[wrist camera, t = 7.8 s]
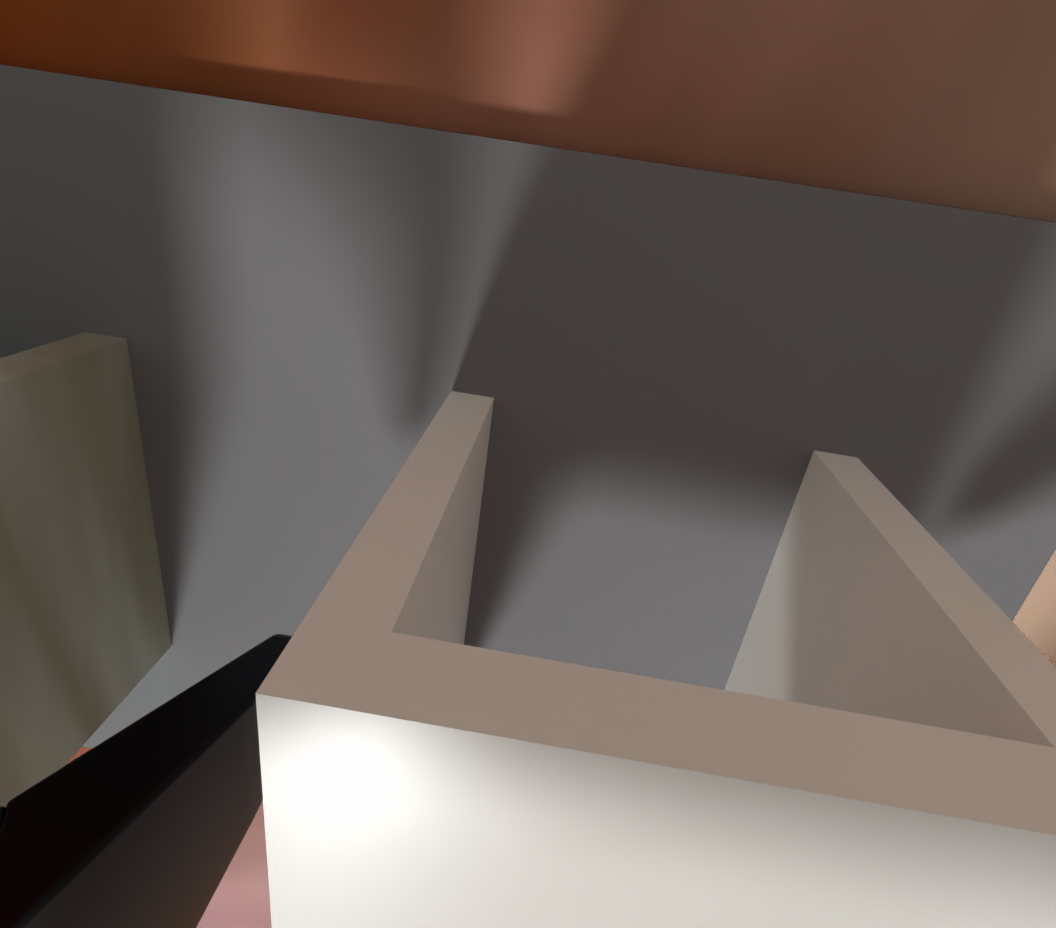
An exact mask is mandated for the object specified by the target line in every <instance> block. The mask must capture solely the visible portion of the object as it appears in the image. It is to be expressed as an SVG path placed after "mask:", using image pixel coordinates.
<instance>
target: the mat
mask: <svg viewBox="0 0 1056 928" xmlns="http://www.w3.org/2000/svg"><path fill="white" fill-rule="evenodd" d="M84 332H89V333H95V334H101V335H107V336H114V337H120V338H126V339H127V345H128V352H129V358H130V365H131V372H132V379H133V385H134V392H135V399H136V406H137V413H138V419H139V426H140V433H141V440H142V446H143V453H144V460H145V467H146V473H147V480H148V487H149V494H150V501H151V507H152V514H153V521H154V528H155V534H156V541H157V548H158V555H159V562H160V568H161V575H162V582H163V589H164V595H165V602H166V609H167V616H168V623H169V629H170V636H171V643H172V646H171V647H170V648H169V649H168V651H167V652H166V653H165V654H164V655H163V656H162V657H161V658H160V660H159V661H158V662H157V663H156V664H155V665H154V666H153V667H152V669H151V670H150V671H149V672H148V673H147V674H146V675H145V676H144V678H143V679H142V680H141V681H140V682H139V683H138V684H137V685H136V686H135V688H134V689H133V690H132V691H131V692H130V693H129V694H128V695H127V697H126V698H125V699H124V700H123V701H122V702H121V703H120V704H119V706H118V707H117V708H116V709H115V710H114V711H113V712H112V713H111V715H110V716H109V717H108V718H107V719H106V720H105V721H104V722H103V723H102V725H101V726H100V727H99V728H98V729H97V730H96V731H95V732H94V734H93V735H92V736H91V737H90V738H89V739H88V740H87V741H86V743H85V744H84V745H83V747H88V748H94V747H96V746H97V745H99V744H100V743H102V742H103V741H105V740H107V739H108V738H110V737H111V736H113V735H115V734H116V733H118V732H119V731H121V730H123V729H124V728H126V727H127V726H129V725H131V724H132V723H134V722H135V721H137V720H139V719H140V718H142V717H143V716H145V715H147V714H148V713H150V712H151V711H153V710H154V709H156V708H158V707H159V706H161V705H162V704H164V703H166V702H167V701H169V700H170V699H172V698H174V697H175V696H177V695H178V694H180V693H182V692H183V691H185V690H186V689H188V688H190V687H191V686H193V685H194V684H196V683H197V682H199V681H201V680H202V679H204V678H205V677H207V676H209V675H210V674H212V673H213V672H215V671H217V670H218V669H220V668H221V667H223V666H225V665H226V664H228V663H229V662H231V661H233V660H234V659H236V658H237V657H239V656H240V655H242V654H244V653H245V652H247V651H248V650H250V649H252V648H253V647H255V646H256V645H258V644H260V643H261V642H263V641H264V640H266V639H268V638H269V637H271V636H273V635H275V634H285V635H290V636H293V635H294V633H295V632H296V630H297V629H298V627H299V625H300V624H301V622H302V621H303V619H304V618H305V616H306V615H307V613H308V612H309V610H310V608H311V607H312V605H313V604H314V602H315V601H316V599H317V598H318V596H319V595H320V593H321V591H322V590H323V588H324V587H325V585H326V584H327V582H328V581H329V579H330V578H331V576H332V575H333V573H334V571H335V570H336V568H337V567H338V565H339V564H340V562H341V561H342V559H343V558H344V556H345V554H346V553H347V551H348V550H349V548H350V547H351V545H352V544H353V542H354V541H355V539H356V538H357V536H358V534H359V533H360V531H361V530H362V528H363V527H364V525H365V524H366V522H367V521H368V519H369V517H370V516H371V514H372V513H373V511H374V510H375V508H376V507H377V505H378V504H379V502H380V500H381V499H382V497H383V496H384V494H385V493H386V491H387V490H388V488H389V487H390V485H391V484H392V482H393V480H394V479H395V477H396V476H397V474H398V473H399V471H400V470H401V468H402V467H403V465H404V463H405V462H406V460H407V459H408V457H409V456H410V454H411V453H412V451H413V450H414V448H415V447H416V445H417V443H418V442H419V440H420V439H421V437H422V436H423V434H424V433H425V431H426V430H427V428H428V426H429V425H430V423H431V422H432V420H433V419H434V417H435V416H436V414H437V413H438V411H439V409H440V408H441V406H442V405H443V403H444V402H445V400H446V399H447V397H448V396H449V394H450V393H451V391H455V392H462V393H468V394H474V395H480V396H486V397H492V398H494V402H493V410H492V418H491V427H490V435H489V443H488V451H487V459H486V468H485V476H484V484H483V492H482V500H481V509H480V517H479V525H478V533H477V541H476V550H475V558H474V566H473V574H472V582H471V591H470V599H469V607H468V615H467V623H466V632H465V640H464V645H469V646H474V647H480V648H486V649H492V650H497V651H503V652H509V653H515V654H520V655H526V656H532V657H538V658H543V659H549V660H555V661H561V662H566V663H572V664H578V665H584V666H589V667H595V668H601V669H606V670H612V671H618V672H624V673H629V674H635V675H641V676H647V677H652V678H658V679H664V680H670V681H675V682H681V683H687V684H693V685H698V686H704V687H710V688H716V689H721V690H724V689H725V687H726V684H727V681H728V679H729V676H730V673H731V671H732V668H733V665H734V662H735V660H736V657H737V654H738V652H739V649H740V646H741V644H742V641H743V638H744V636H745V633H746V630H747V628H748V625H749V622H750V620H751V617H752V614H753V612H754V609H755V606H756V604H757V601H758V598H759V596H760V593H761V590H762V588H763V585H764V582H765V580H766V577H767V574H768V572H769V569H770V566H771V564H772V561H773V558H774V555H775V553H776V550H777V547H778V545H779V542H780V539H781V537H782V534H783V531H784V529H785V526H786V523H787V521H788V518H789V515H790V513H791V510H792V507H793V505H794V502H795V499H796V497H797V494H798V491H799V489H800V486H801V483H802V481H803V478H804V475H805V473H806V470H807V467H808V465H809V462H810V459H811V457H812V454H813V451H814V450H815V451H821V452H827V453H833V454H839V455H845V456H851V457H857V458H858V459H859V460H860V461H861V462H862V463H863V464H864V465H865V466H866V467H867V468H868V469H869V470H870V471H871V472H872V473H873V474H874V476H875V477H876V478H877V479H878V480H879V481H880V482H881V483H882V484H883V485H884V486H885V487H886V488H887V489H888V490H889V491H890V492H891V494H892V495H893V496H894V497H895V498H896V499H897V500H898V501H899V502H900V503H901V504H902V505H903V506H904V507H905V508H906V509H907V510H908V511H909V513H910V514H911V515H912V516H913V517H914V518H915V519H916V520H917V521H918V522H919V523H920V524H921V525H922V526H923V527H924V528H925V529H926V531H927V532H928V533H929V534H930V535H931V536H932V537H933V538H934V539H935V540H936V541H937V542H938V543H939V544H940V545H941V546H942V547H943V549H944V550H945V551H946V552H947V553H948V554H949V555H950V556H951V557H952V558H953V559H954V560H955V561H956V562H957V563H958V564H959V565H960V567H961V568H962V569H963V570H964V571H965V572H966V573H967V574H968V575H969V576H970V577H971V578H972V579H973V580H974V581H975V582H976V583H977V585H978V586H979V587H980V588H981V589H982V590H983V591H984V592H985V593H986V594H987V595H988V596H989V597H990V598H991V599H992V600H993V601H994V603H995V604H996V605H997V606H998V607H999V608H1000V609H1001V610H1002V611H1003V612H1004V613H1005V614H1006V615H1007V616H1008V617H1009V618H1010V619H1011V621H1013V619H1014V618H1015V616H1016V614H1017V613H1018V611H1019V609H1020V608H1021V606H1022V604H1023V603H1024V601H1025V599H1026V598H1027V596H1028V594H1029V593H1030V591H1031V589H1032V588H1033V586H1034V584H1035V583H1036V581H1037V579H1038V578H1039V576H1040V574H1041V573H1042V571H1043V569H1044V568H1045V566H1046V564H1047V563H1048V561H1049V560H1050V558H1051V556H1052V555H1053V553H1054V551H1055V550H1056V223H1054V222H1047V221H1041V220H1034V219H1027V218H1021V217H1014V216H1007V215H1001V214H994V213H987V212H981V211H974V210H967V209H961V208H954V207H947V206H941V205H934V204H927V203H921V202H914V201H907V200H901V199H894V198H887V197H881V196H874V195H867V194H861V193H854V192H847V191H841V190H834V189H827V188H821V187H814V186H807V185H801V184H794V183H787V182H781V181H774V180H767V179H761V178H754V177H747V176H741V175H734V174H727V173H721V172H714V171H707V170H701V169H694V168H687V167H681V166H674V165H667V164H661V163H654V162H647V161H641V160H634V159H627V158H621V157H614V156H607V155H601V154H594V153H587V152H581V151H574V150H567V149H561V148H554V147H547V146H541V145H534V144H527V143H521V142H514V141H507V140H501V139H494V138H487V137H481V136H474V135H467V134H461V133H454V132H447V131H441V130H434V129H427V128H421V127H414V126H407V125H401V124H394V123H387V122H381V121H374V120H367V119H361V118H354V117H347V116H341V115H334V114H327V113H321V112H314V111H307V110H301V109H294V108H287V107H281V106H274V105H267V104H261V103H254V102H247V101H241V100H234V99H227V98H221V97H214V96H207V95H201V94H194V93H187V92H181V91H174V90H167V89H161V88H154V87H147V86H141V85H134V84H127V83H121V82H114V81H107V80H101V79H94V78H87V77H81V76H74V75H67V74H61V73H54V72H47V71H41V70H34V69H27V68H21V67H14V66H7V65H1V64H0V358H3V357H6V356H9V355H13V354H16V353H19V352H22V351H25V350H29V349H32V348H35V347H38V346H42V345H45V344H48V343H51V342H55V341H58V340H61V339H64V338H67V337H71V336H74V335H77V334H80V333H84Z"/></svg>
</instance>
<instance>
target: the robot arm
mask: <svg viewBox="0 0 1056 928" xmlns="http://www.w3.org/2000/svg"><path fill="white" fill-rule="evenodd" d="M291 638H292V636H290V635H285V634H275V635H273V636H271V637H269V638H268V639H266V640H264V641H263V642H261V643H260V644H258V645H256V646H255V647H253V648H252V649H250V650H248V651H247V652H245V653H244V654H242V655H240V656H239V657H237V658H236V659H234V660H233V661H231V662H229V663H228V664H226V665H225V666H223V667H221V668H220V669H218V670H217V671H215V672H213V673H212V674H210V675H209V676H207V677H205V678H204V679H202V680H201V681H199V682H197V683H196V684H194V685H193V686H191V687H190V688H188V689H186V690H185V691H183V692H182V693H180V694H178V695H177V696H175V697H174V698H172V699H170V700H169V701H167V702H166V703H164V704H162V705H161V706H159V707H158V708H156V709H154V710H153V711H151V712H150V713H148V714H147V715H145V716H143V717H142V718H140V719H139V720H137V721H135V722H134V723H132V724H131V725H129V726H127V727H126V728H124V729H123V730H121V731H119V732H118V733H116V734H115V735H113V736H111V737H110V738H108V739H107V740H105V741H103V742H102V743H100V744H99V745H97V746H96V747H94V748H92V749H91V750H89V751H88V752H86V753H84V754H83V755H81V756H80V757H78V758H76V759H75V760H73V761H72V762H70V763H68V764H67V765H65V766H64V767H62V768H60V769H59V770H57V771H56V772H54V773H53V774H51V775H49V776H48V777H46V778H45V779H43V780H41V781H40V782H38V783H37V784H35V785H33V786H32V787H30V788H29V789H27V790H25V791H24V792H22V793H21V794H19V795H17V796H16V797H14V798H13V799H11V800H10V801H9V802H8V803H7V806H6V807H4V806H0V928H196V927H197V925H198V923H199V921H200V919H201V917H202V915H203V914H204V912H205V910H206V908H207V906H208V904H209V902H210V900H211V898H212V897H213V895H214V893H215V891H216V889H217V887H218V885H219V883H220V881H221V879H222V878H223V876H224V874H225V872H226V870H227V868H228V866H229V864H230V862H231V860H232V859H233V857H234V855H235V853H236V851H237V849H238V847H239V845H240V843H241V842H242V840H243V838H244V836H245V834H246V832H247V830H248V828H249V826H250V824H251V823H252V821H253V819H254V817H255V815H256V813H257V811H258V809H259V806H260V804H261V802H262V800H263V793H262V779H261V764H260V750H259V736H258V722H257V708H256V694H255V693H256V692H257V690H258V689H259V687H260V686H261V684H262V683H263V681H264V679H265V678H266V676H267V675H268V673H269V672H270V670H271V669H272V667H273V666H274V664H275V662H276V661H277V659H278V658H279V656H280V655H281V653H282V652H283V650H284V649H285V647H286V645H287V644H288V642H289V641H290V639H291Z"/></svg>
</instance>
